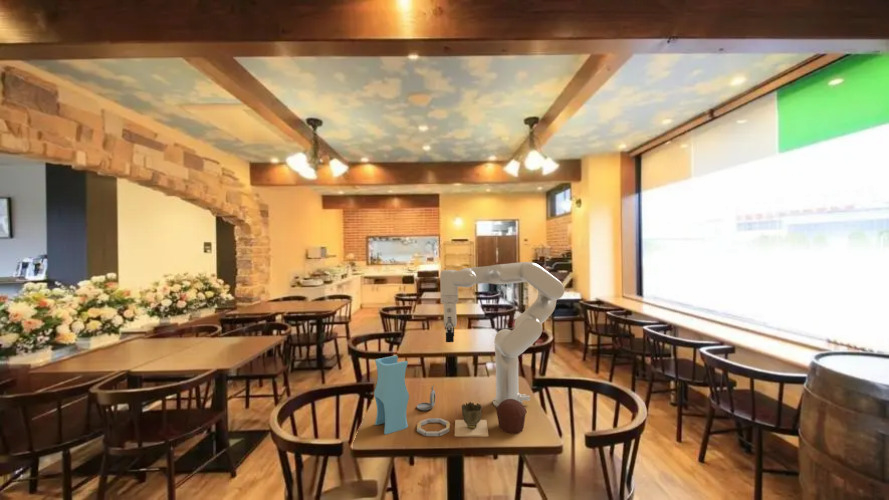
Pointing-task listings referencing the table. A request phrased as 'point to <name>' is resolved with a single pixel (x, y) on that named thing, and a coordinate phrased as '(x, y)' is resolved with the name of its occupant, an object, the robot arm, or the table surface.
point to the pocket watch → (428, 405)
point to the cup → (471, 414)
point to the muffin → (511, 416)
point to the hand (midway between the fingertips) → (450, 339)
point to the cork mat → (464, 431)
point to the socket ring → (433, 433)
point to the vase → (391, 394)
